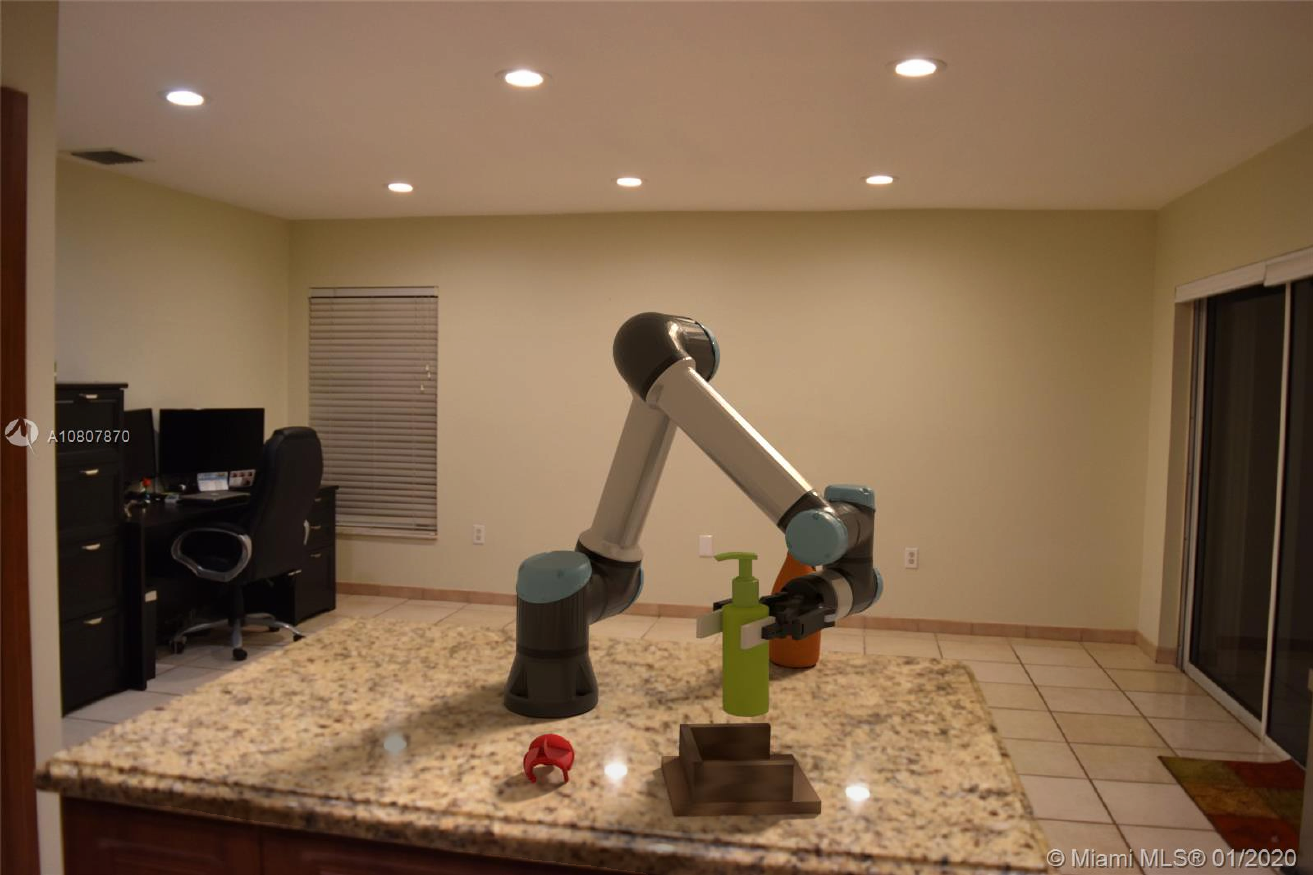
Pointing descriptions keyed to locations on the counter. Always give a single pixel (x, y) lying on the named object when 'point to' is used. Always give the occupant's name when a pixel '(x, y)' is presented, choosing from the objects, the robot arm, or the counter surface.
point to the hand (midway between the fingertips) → (721, 632)
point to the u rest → (734, 773)
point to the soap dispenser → (740, 666)
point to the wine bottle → (787, 648)
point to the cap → (549, 755)
